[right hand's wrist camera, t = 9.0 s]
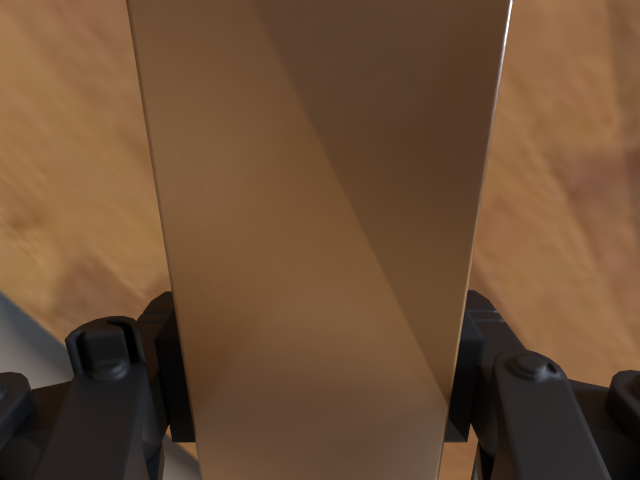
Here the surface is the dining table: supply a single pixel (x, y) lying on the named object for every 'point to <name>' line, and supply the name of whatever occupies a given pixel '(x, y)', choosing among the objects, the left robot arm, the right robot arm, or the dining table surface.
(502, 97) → the dining table surface
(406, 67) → the post
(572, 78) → the dining table surface
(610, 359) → the dining table surface
